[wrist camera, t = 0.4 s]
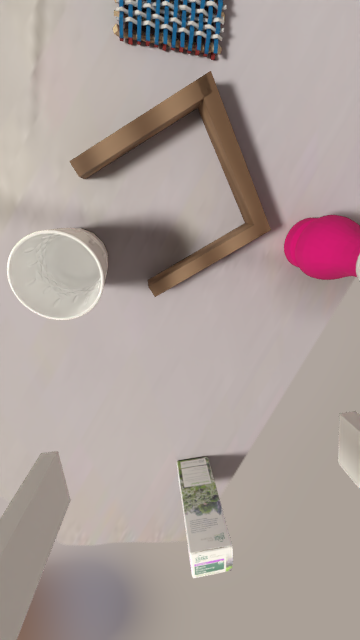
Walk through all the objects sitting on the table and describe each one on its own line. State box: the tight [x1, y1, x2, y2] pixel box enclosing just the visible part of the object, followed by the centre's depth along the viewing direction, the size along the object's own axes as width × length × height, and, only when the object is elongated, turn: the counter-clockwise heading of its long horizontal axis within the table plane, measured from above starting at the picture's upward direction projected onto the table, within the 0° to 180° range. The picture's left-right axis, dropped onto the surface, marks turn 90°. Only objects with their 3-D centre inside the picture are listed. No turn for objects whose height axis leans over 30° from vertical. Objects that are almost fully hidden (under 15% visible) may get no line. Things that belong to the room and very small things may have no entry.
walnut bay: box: [70, 71, 271, 297], centre depth 30 cm, size 16×16×3 cm
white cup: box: [7, 228, 108, 320], centre depth 28 cm, size 8×8×10 cm
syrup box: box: [177, 457, 233, 578], centre depth 43 cm, size 6×6×14 cm
